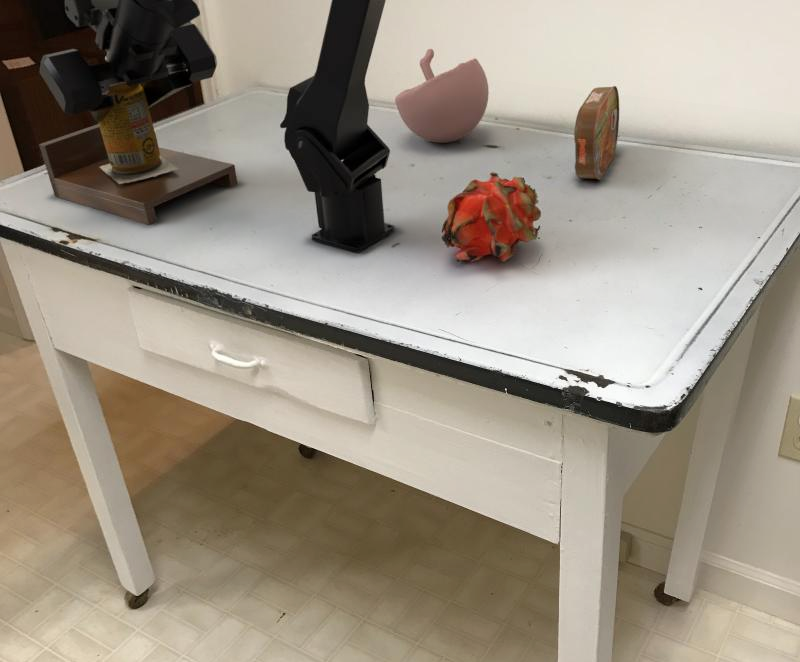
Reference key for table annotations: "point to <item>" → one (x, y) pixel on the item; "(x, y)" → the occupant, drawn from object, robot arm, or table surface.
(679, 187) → the table surface
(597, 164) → the tin
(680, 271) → the table surface
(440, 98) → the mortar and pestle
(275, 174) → the table surface
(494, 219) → the dragon fruit
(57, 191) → the shelf
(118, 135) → the condiment
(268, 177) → the table surface
